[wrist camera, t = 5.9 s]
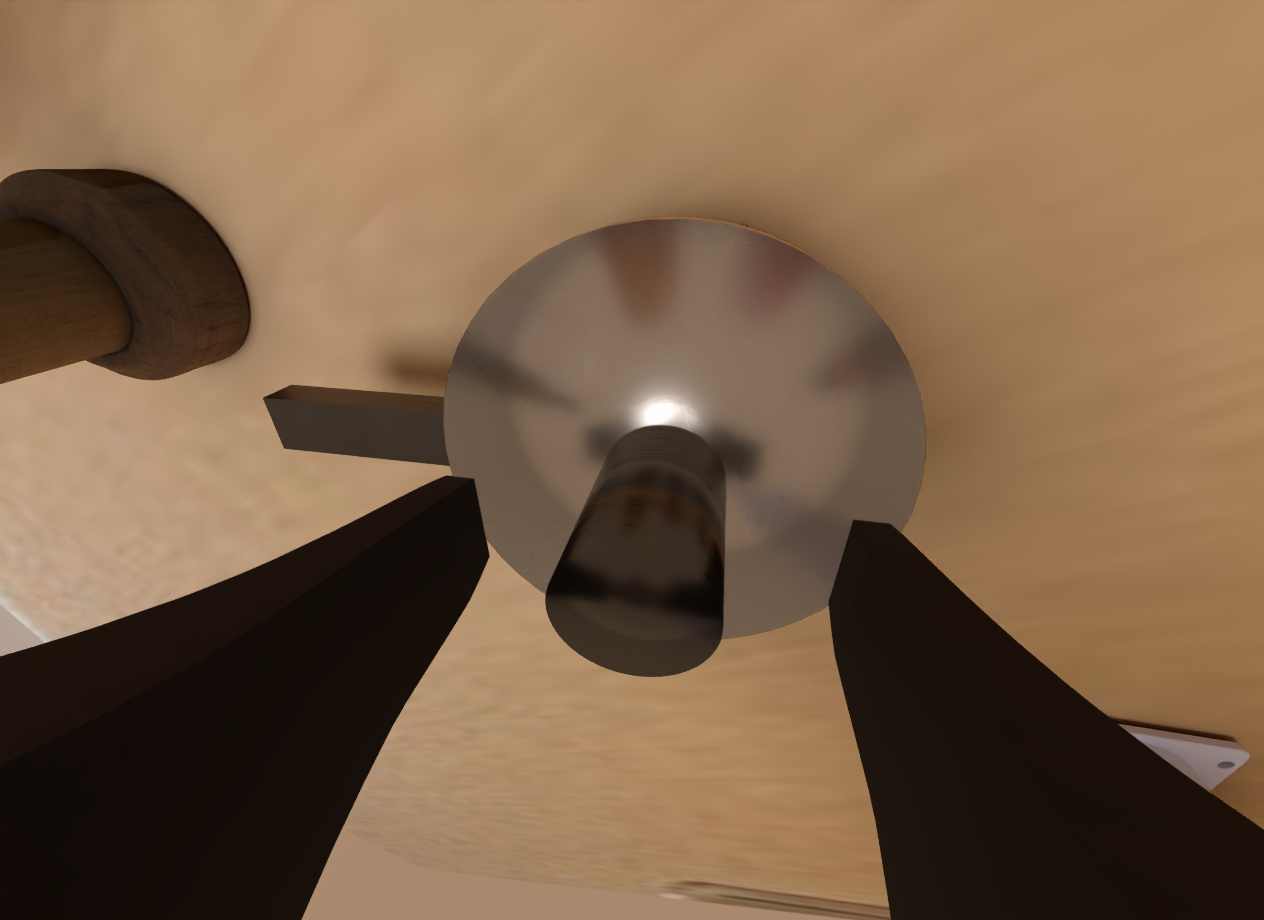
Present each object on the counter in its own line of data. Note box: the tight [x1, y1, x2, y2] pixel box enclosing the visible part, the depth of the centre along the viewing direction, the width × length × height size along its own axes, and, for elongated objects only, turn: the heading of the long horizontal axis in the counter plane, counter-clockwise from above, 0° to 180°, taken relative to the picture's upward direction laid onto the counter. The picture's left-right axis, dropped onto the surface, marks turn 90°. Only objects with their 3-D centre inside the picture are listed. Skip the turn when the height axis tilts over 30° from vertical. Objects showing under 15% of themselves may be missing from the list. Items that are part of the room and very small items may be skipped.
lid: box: [443, 216, 926, 677], centre depth 10 cm, size 11×11×6 cm
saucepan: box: [263, 224, 750, 466], centre depth 14 cm, size 10×16×5 cm, turn 90°
